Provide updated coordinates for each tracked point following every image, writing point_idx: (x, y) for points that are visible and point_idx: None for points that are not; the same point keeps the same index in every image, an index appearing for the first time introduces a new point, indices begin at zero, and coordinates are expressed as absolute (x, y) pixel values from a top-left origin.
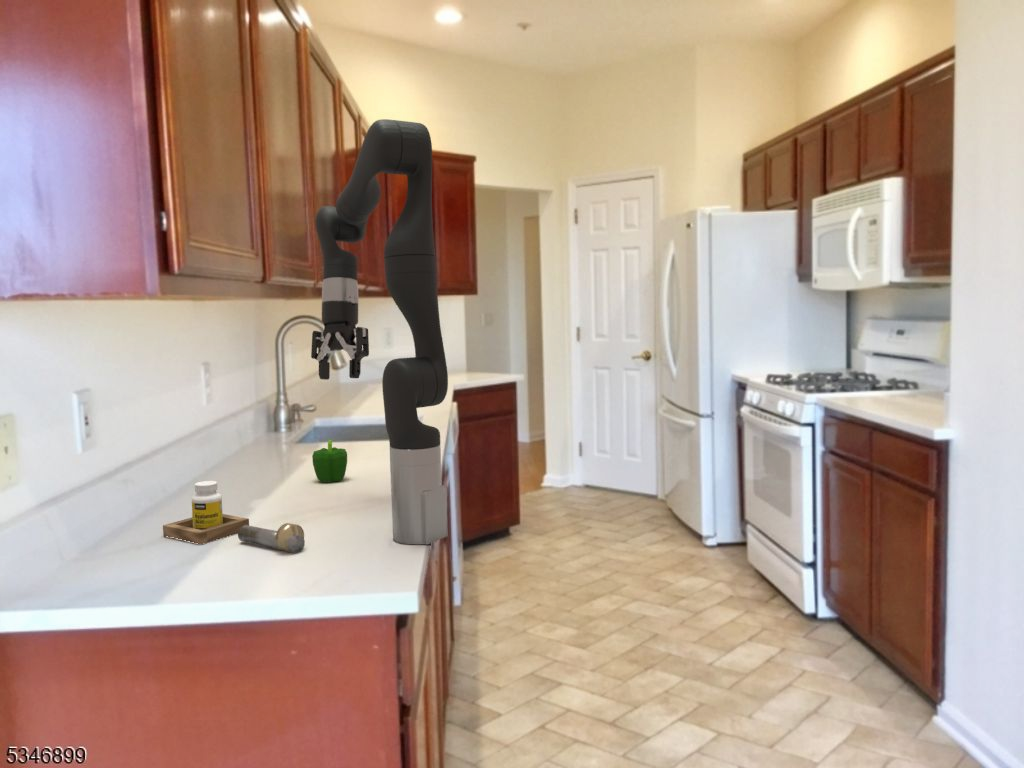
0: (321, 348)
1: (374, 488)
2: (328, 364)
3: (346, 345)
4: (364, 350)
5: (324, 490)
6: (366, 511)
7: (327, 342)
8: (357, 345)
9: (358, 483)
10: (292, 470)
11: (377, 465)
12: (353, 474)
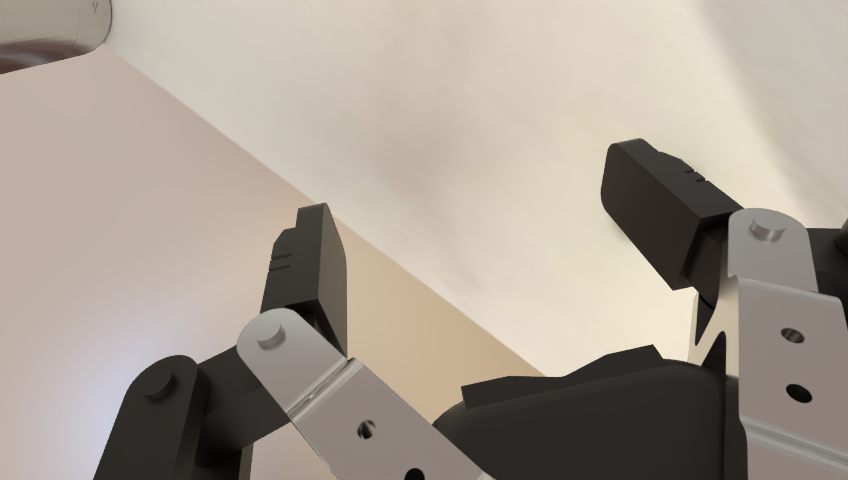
0: (813, 303)
1: (512, 214)
2: (663, 266)
3: (315, 428)
4: (218, 466)
5: (602, 137)
6: (357, 73)
7: (758, 406)
8: (151, 476)
9: (577, 221)
10: (811, 208)
11: (650, 327)
12: (645, 260)
